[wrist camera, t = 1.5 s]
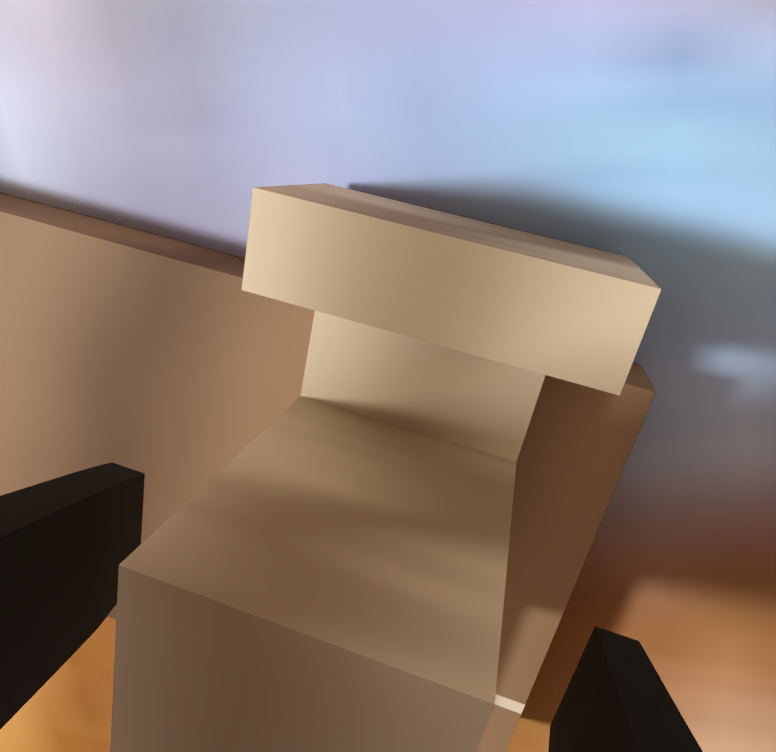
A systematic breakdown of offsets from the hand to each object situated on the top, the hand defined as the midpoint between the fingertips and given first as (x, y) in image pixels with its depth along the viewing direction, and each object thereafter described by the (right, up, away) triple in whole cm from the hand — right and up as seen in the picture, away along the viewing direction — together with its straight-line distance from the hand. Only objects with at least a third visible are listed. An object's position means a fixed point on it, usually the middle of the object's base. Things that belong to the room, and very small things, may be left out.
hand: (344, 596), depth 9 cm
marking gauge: (+1, +2, +4) cm, 5 cm away
